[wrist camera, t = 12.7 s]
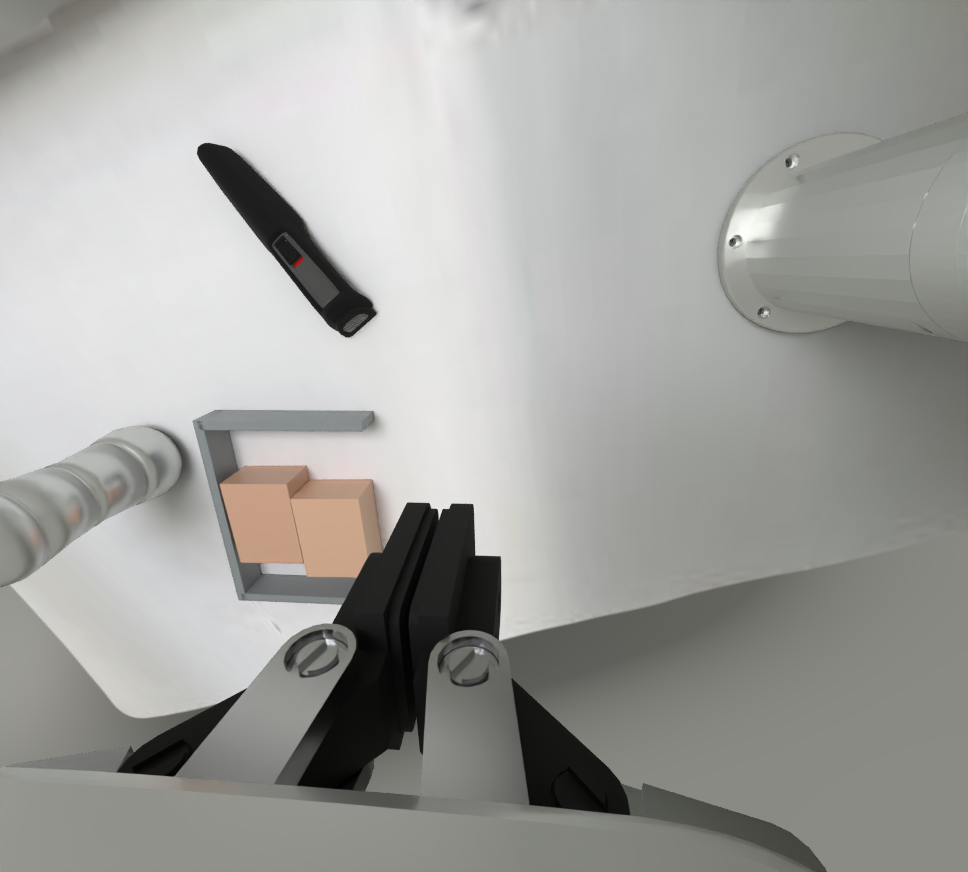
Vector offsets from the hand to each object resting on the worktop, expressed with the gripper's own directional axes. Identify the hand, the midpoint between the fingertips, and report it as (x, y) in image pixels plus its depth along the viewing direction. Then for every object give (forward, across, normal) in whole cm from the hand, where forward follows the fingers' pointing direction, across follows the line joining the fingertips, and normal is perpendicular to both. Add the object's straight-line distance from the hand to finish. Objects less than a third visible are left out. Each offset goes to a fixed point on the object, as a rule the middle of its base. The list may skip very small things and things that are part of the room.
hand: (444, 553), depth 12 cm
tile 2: (+27, +15, +16) cm, 35 cm away
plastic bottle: (+27, +32, +9) cm, 43 cm away
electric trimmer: (+28, +16, -8) cm, 33 cm away
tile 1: (+27, +21, +14) cm, 37 cm away
